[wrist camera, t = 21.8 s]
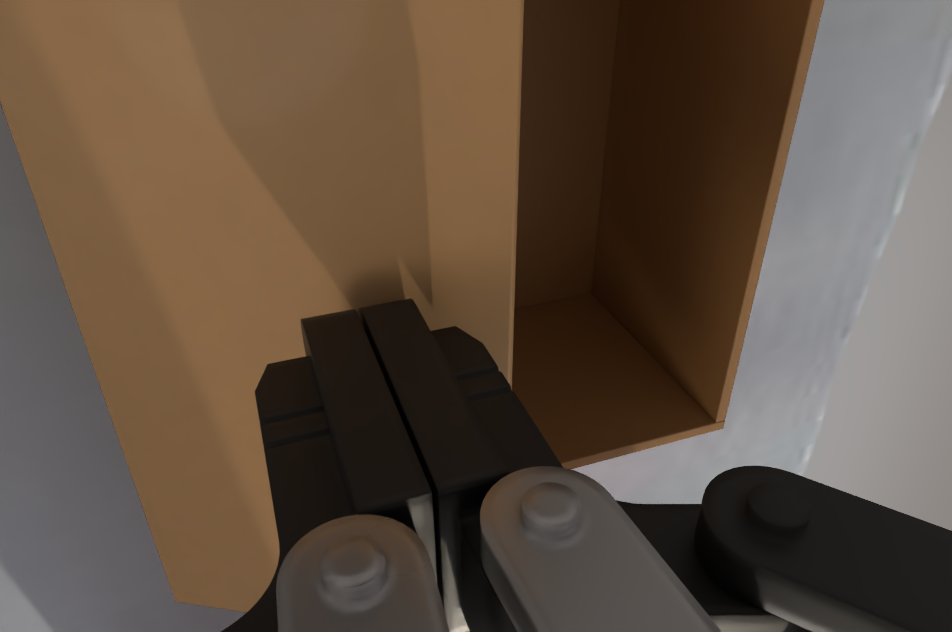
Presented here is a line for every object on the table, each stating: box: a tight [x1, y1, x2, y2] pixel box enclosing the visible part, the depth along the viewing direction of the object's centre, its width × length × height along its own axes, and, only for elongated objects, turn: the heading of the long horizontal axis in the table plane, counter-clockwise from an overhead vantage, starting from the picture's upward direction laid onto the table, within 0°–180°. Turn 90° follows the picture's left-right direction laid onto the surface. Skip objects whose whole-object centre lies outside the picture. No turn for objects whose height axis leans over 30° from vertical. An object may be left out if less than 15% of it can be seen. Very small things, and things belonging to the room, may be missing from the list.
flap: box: [0, 0, 524, 632], centre depth 11 cm, size 7×14×1 cm, turn 0°
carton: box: [512, 0, 824, 469], centre depth 16 cm, size 14×14×7 cm
